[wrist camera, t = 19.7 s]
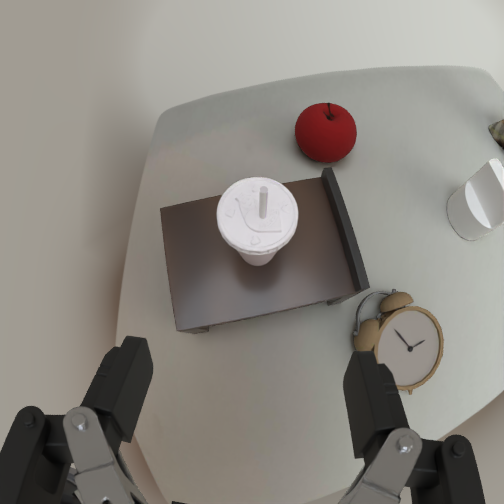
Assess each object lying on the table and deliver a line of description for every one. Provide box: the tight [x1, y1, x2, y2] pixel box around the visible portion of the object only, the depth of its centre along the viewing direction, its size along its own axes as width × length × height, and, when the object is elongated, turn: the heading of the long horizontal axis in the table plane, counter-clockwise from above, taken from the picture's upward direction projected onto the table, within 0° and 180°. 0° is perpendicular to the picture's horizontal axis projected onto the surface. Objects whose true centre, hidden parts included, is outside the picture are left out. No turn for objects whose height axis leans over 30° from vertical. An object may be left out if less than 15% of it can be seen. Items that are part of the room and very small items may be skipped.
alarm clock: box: [353, 289, 444, 395], centre depth 37 cm, size 11×5×15 cm
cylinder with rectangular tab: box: [447, 159, 504, 241], centre depth 38 cm, size 9×9×12 cm
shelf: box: [160, 167, 370, 334], centre depth 37 cm, size 20×14×11 cm
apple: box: [295, 103, 357, 163], centre depth 43 cm, size 9×9×10 cm
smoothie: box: [217, 177, 298, 266], centre depth 26 cm, size 6×6×14 cm
